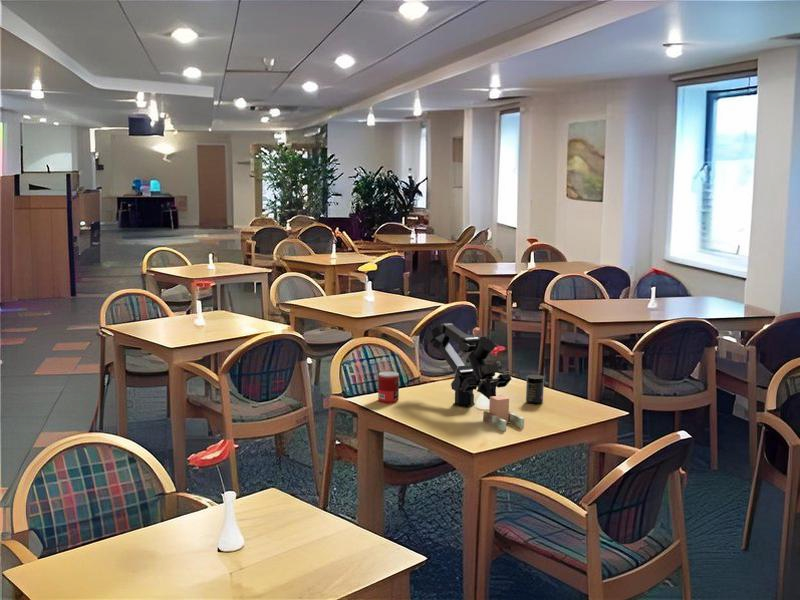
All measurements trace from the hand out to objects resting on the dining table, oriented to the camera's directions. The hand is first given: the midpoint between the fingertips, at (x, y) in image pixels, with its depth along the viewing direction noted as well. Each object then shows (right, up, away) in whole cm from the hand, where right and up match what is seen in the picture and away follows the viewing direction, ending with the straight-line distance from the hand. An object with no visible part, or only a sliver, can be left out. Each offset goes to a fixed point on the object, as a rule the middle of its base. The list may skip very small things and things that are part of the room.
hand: (494, 402), depth 305 cm
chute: (+3, -7, -4) cm, 9 cm away
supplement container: (+18, -3, +24) cm, 31 cm away
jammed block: (+1, -7, -1) cm, 7 cm away
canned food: (-39, -3, +25) cm, 46 cm away
